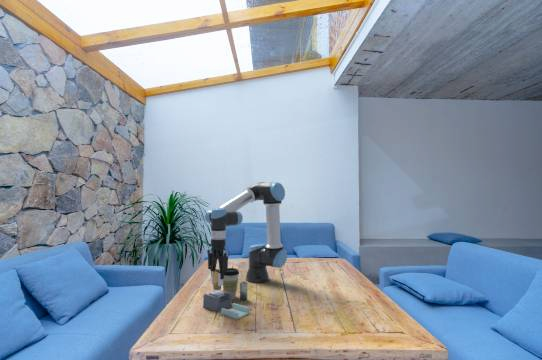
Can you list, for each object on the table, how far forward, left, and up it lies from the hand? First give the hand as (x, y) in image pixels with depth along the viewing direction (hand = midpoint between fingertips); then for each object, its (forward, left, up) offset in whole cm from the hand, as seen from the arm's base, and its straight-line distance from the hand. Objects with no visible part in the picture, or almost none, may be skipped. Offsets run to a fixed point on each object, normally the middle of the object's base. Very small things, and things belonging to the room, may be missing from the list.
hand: (217, 284), depth 160 cm
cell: (0, 0, -2) cm, 2 cm away
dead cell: (-15, +5, -11) cm, 20 cm away
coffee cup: (-14, -4, -11) cm, 19 cm away
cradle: (0, 0, -11) cm, 11 cm away
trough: (+2, +14, -11) cm, 18 cm away
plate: (0, 0, -6) cm, 6 cm away
